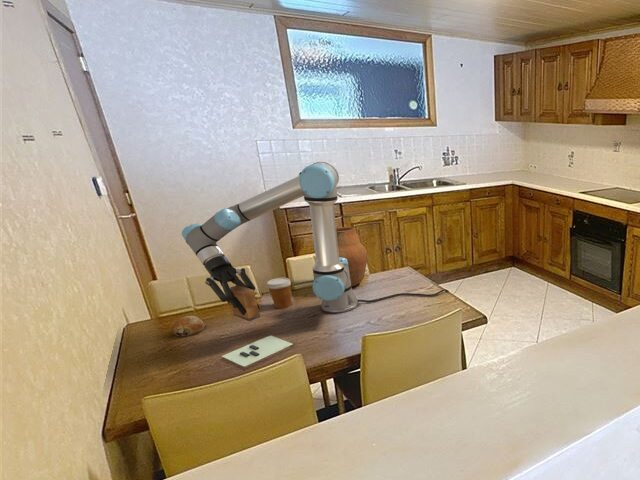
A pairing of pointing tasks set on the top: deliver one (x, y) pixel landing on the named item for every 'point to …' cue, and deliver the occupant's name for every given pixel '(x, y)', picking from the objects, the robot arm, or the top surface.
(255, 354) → the smudge
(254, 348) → the smudge
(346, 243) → the pot
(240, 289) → the eraser
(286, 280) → the disposable coffee cup
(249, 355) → the smudge
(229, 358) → the wipe board
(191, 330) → the bread roll
